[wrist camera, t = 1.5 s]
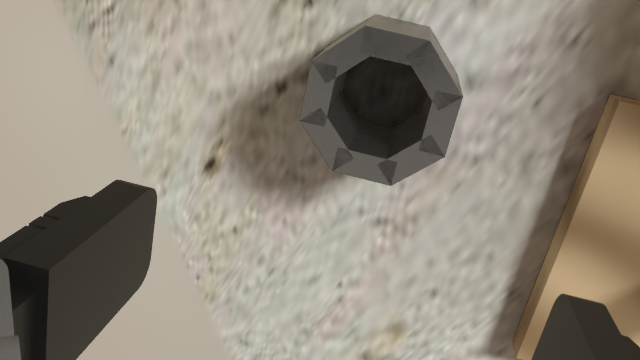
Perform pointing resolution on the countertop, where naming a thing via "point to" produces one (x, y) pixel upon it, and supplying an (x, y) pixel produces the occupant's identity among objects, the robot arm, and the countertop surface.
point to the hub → (369, 138)
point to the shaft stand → (596, 233)
